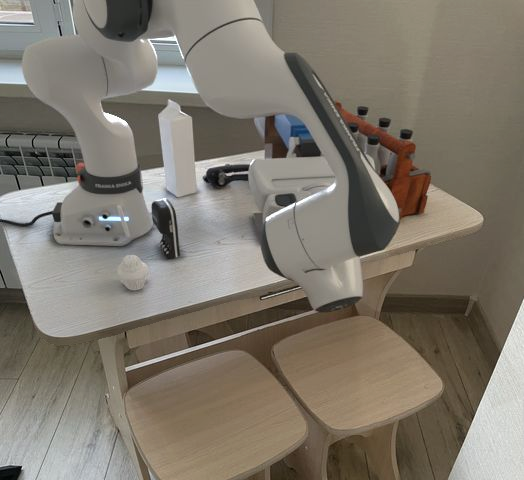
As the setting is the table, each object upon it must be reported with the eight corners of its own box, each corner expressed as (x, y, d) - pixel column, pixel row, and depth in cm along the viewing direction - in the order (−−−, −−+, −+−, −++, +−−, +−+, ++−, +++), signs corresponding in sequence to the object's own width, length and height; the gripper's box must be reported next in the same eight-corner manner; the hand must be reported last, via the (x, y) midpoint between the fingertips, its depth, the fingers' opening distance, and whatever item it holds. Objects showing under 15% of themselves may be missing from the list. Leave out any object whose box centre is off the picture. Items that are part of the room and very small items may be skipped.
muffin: (118, 296, 97) (112, 266, 92) (120, 278, 102) (114, 248, 97) (151, 293, 98) (146, 263, 93) (150, 276, 102) (146, 246, 98)
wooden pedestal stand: (261, 243, 113) (265, 108, 93) (252, 218, 122) (254, 90, 102) (310, 240, 115) (324, 107, 95) (298, 215, 123) (309, 88, 104)
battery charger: (154, 245, 111) (148, 198, 103) (171, 242, 112) (165, 194, 105) (164, 261, 107) (157, 212, 99) (181, 257, 108) (176, 209, 100)
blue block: (297, 165, 79) (299, 138, 76) (274, 125, 92) (275, 101, 89) (323, 164, 80) (326, 137, 77) (296, 124, 93) (298, 100, 90)
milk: (177, 197, 129) (168, 107, 114) (166, 189, 132) (155, 100, 117) (197, 191, 131) (191, 103, 116) (185, 183, 135) (178, 96, 120)
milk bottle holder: (360, 234, 117) (375, 153, 104) (290, 176, 140) (295, 103, 127) (430, 217, 124) (452, 139, 111) (352, 165, 147) (363, 94, 134)
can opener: (209, 193, 131) (208, 172, 127) (201, 182, 136) (199, 162, 132) (270, 183, 137) (271, 162, 133) (260, 173, 141) (260, 153, 137)
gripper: (390, 196, 75) (371, 122, 79) (258, 204, 72) (245, 127, 76) (376, 219, 81) (359, 149, 85) (254, 227, 78) (242, 154, 82)
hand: (304, 138), depth 81 cm, fingers closed on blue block, 2 cm apart
